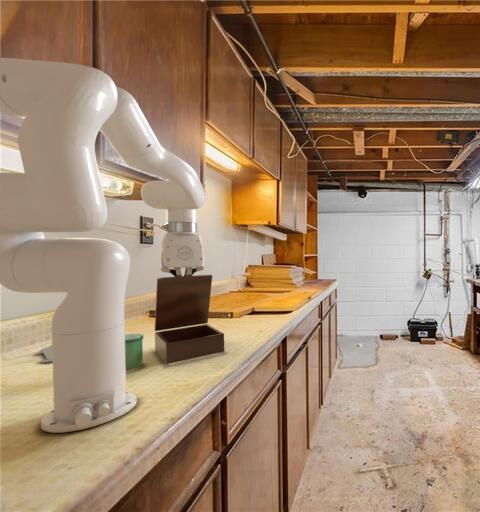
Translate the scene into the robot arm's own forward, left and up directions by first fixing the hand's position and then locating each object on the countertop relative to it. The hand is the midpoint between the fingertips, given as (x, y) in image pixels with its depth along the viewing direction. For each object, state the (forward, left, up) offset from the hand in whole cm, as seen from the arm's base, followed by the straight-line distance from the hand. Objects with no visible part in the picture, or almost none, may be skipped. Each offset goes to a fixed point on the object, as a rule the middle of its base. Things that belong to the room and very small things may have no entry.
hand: (183, 291), depth 93 cm
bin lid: (-1, 0, -3) cm, 3 cm away
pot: (-9, +14, -17) cm, 24 cm away
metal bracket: (+19, +23, -17) cm, 35 cm away
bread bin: (-6, 0, -17) cm, 18 cm away
